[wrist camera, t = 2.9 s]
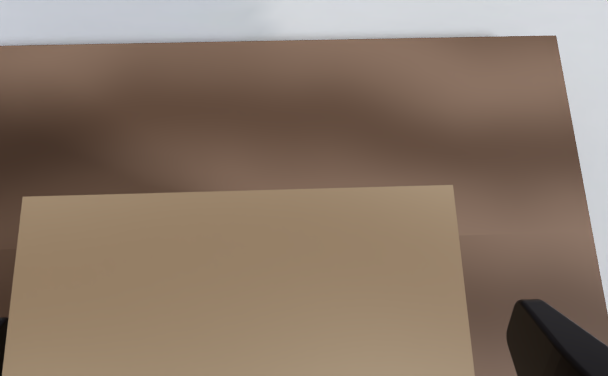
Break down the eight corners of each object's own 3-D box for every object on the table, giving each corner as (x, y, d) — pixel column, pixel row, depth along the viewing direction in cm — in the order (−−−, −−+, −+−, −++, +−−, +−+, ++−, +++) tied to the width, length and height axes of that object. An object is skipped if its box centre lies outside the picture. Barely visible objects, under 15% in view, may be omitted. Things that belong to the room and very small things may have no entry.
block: (344, 402, 15) (513, 709, 4) (218, 407, 15) (-42, 743, 3) (338, 275, 16) (453, 185, 4) (219, 278, 16) (23, 196, 4)
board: (644, 698, 13) (687, 746, 12) (-84, 741, 13) (-133, 797, 11) (535, 57, 18) (556, 35, 17) (6, 67, 18) (-20, 46, 16)
